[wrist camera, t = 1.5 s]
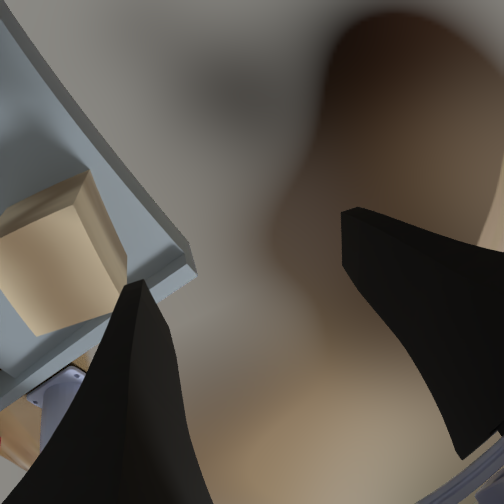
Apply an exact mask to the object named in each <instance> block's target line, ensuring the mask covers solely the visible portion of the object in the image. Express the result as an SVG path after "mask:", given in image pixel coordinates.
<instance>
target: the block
mask: <svg viewBox="0 0 504 504" xmlns="http://www.w3.org/2000/svg"><path fill="white" fill-rule="evenodd" d="M124 285H127V254H126V252H125V250H124V248H123V246H122V243H121V241H120V239H119V237H118V235H117V233H116V230H115V228H114V226H113V224H112V221H111V219H110V217H109V215H108V212H107V210H106V208H105V205H104V203H103V201H102V198H101V196H100V193H99V191H98V189H97V186H96V184H95V181H94V179H93V176H92V174H91V171H90V169H89V170H87V171H85V172H82V173H80V174H77V175H75V176H73V177H71V178H68V179H66V180H64V181H61V182H59V183H57V184H55V185H53V186H51V187H48V188H46V189H44V190H42V191H40V192H38V193H36V194H34V195H32V196H30V197H28V198H26V199H24V200H22V201H20V202H18V203H16V204H14V205H12V206H10V207H8V208H6V210H5V211H4V212H3V214H2V215H1V216H0V289H1V291H2V292H3V294H4V295H5V296H6V298H7V299H8V301H9V302H10V303H11V305H12V306H13V308H14V309H15V310H16V312H17V313H18V314H19V316H20V317H21V318H22V319H23V321H24V322H25V323H26V325H27V326H28V327H29V328H30V330H31V331H32V332H33V333H34V335H35V336H36V337H37V336H40V335H44V334H47V333H50V332H53V331H56V330H59V329H62V328H65V327H68V326H71V325H74V324H77V323H80V322H84V321H87V320H90V319H93V318H96V317H99V316H102V315H105V314H108V313H111V312H113V310H114V307H115V305H116V303H117V300H118V298H119V295H120V293H121V291H122V289H123V287H124Z"/></svg>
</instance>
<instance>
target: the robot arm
mask: <svg viewBox="0 0 504 504" xmlns="http://www.w3.org/2000/svg"><path fill="white" fill-rule="evenodd" d="M341 229H342V230H341V232H342V266H343V267H344V269H345V271H346V272H347V274H348V275H349V277H350V279H351V280H352V282H353V283H354V285H355V286H356V288H357V289H358V291H359V292H360V293H361V294H362V296H363V297H364V298H365V299H366V300H367V302H368V303H369V304H370V305H371V306H372V308H373V309H374V310H375V311H376V313H377V314H378V315H379V316H380V317H381V318H382V320H383V321H384V322H385V323H386V325H387V326H388V327H389V328H390V329H391V330H392V332H393V333H394V334H395V335H396V337H397V338H398V339H399V340H400V342H401V343H402V345H403V346H404V347H405V349H406V350H407V352H408V354H409V355H410V357H411V358H412V360H413V362H414V363H415V365H416V366H417V368H418V370H419V372H420V373H421V375H422V377H423V379H424V381H425V383H426V384H427V386H428V388H429V390H430V392H431V393H432V396H433V397H434V400H435V402H436V404H437V406H438V408H439V410H440V412H441V415H442V417H443V419H444V422H445V424H446V427H447V429H448V432H449V434H450V437H451V439H452V442H453V445H454V448H455V451H456V452H457V454H458V455H459V457H460V458H461V460H463V459H465V458H466V457H467V456H469V455H470V454H471V453H472V452H474V451H475V450H476V449H477V448H478V447H480V446H481V445H482V444H483V443H484V442H486V441H487V440H488V439H489V438H490V437H491V436H492V435H494V434H495V433H496V432H497V431H498V432H499V433H500V435H501V436H502V437H501V438H500V439H499V440H498V441H497V442H496V443H495V444H494V445H493V446H492V447H491V448H489V449H488V450H487V451H486V452H485V453H483V454H482V455H481V456H480V457H479V458H478V459H477V460H475V461H474V462H473V463H471V464H470V465H469V466H468V467H466V468H465V469H464V470H463V471H461V472H460V473H459V474H457V475H456V476H455V477H453V478H452V479H451V480H449V481H448V482H446V483H445V484H444V485H442V486H441V487H439V488H438V489H436V490H435V491H434V492H432V493H431V494H429V495H427V496H426V497H424V498H423V499H421V500H420V501H418V502H416V503H415V504H458V503H459V502H460V501H462V500H463V499H464V498H466V497H467V496H468V495H469V494H470V493H472V492H473V491H474V490H476V489H477V488H478V487H479V486H480V485H482V484H483V483H484V482H485V481H486V480H487V479H489V478H490V477H491V476H492V475H493V474H494V473H495V472H496V471H498V470H499V469H500V468H501V467H502V466H503V465H504V252H499V251H495V250H490V249H486V248H482V247H479V246H475V245H471V244H467V243H464V242H460V241H457V240H454V239H451V238H448V237H445V236H442V235H439V234H436V233H433V232H430V231H427V230H425V229H422V228H419V227H416V226H414V225H411V224H408V223H405V222H403V221H400V220H397V219H394V218H391V217H389V216H386V215H383V214H380V213H377V212H374V211H371V210H368V209H365V208H360V207H356V208H352V209H349V210H346V211H343V212H341ZM27 400H28V401H29V402H31V403H33V404H35V405H36V406H38V407H40V408H42V417H41V433H40V455H39V456H38V458H37V459H36V460H35V462H34V463H33V465H32V466H31V467H30V469H29V470H28V472H27V473H26V474H25V476H24V477H23V478H22V480H21V481H20V482H19V483H18V484H17V486H16V487H15V488H14V489H13V490H12V492H11V493H10V494H9V495H8V497H7V498H6V499H5V500H4V501H3V503H2V504H213V502H212V499H211V497H210V494H209V492H208V489H207V487H206V484H205V481H204V479H203V476H202V473H201V470H200V467H199V464H198V461H197V458H196V455H195V452H194V449H193V446H192V442H191V439H190V435H189V431H188V427H187V422H186V416H185V410H184V404H183V398H182V391H181V385H180V378H179V371H178V364H177V357H176V354H175V349H174V345H173V342H172V337H171V334H170V329H169V326H168V325H167V323H166V321H165V319H164V317H163V316H162V313H161V312H160V310H159V308H158V306H157V304H156V302H155V300H154V298H153V296H152V294H151V292H150V290H149V288H148V286H147V284H146V282H145V280H144V279H141V280H138V281H135V282H132V283H129V284H127V285H124V287H123V289H122V291H121V293H120V295H119V298H118V300H117V303H116V305H115V307H114V310H113V312H112V315H111V317H110V320H109V322H108V325H107V327H106V329H105V332H104V334H103V337H102V339H101V342H100V344H99V346H98V349H97V351H96V353H95V355H94V357H93V360H92V362H91V364H90V366H89V369H88V371H87V373H84V372H82V371H81V370H79V369H78V368H76V367H74V366H69V367H67V368H65V369H64V370H62V371H61V372H60V373H58V374H57V375H55V376H54V377H52V378H51V379H49V380H48V381H46V382H45V383H43V384H42V385H41V386H39V387H38V388H36V389H35V390H33V391H32V392H30V393H29V394H27ZM475 498H476V499H477V501H476V502H475V503H474V504H504V468H503V469H501V470H500V471H499V472H497V473H496V474H495V475H494V476H493V477H491V478H490V479H489V480H488V481H487V482H486V483H485V484H484V485H483V486H482V487H481V489H480V490H479V491H478V492H477V493H476V494H475Z"/></svg>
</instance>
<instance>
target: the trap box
mask: <svg viewBox="0 0 504 504" xmlns="http://www.w3.org/2000/svg"><path fill="white" fill-rule="evenodd" d="M89 169H90V171H91V174H92V176H93V179H94V181H95V184H96V186H97V189H98V191H99V193H100V196H101V198H102V201H103V203H104V205H105V208H106V210H107V212H108V215H109V217H110V219H111V221H112V224H113V226H114V228H115V230H116V233H117V235H118V237H119V239H120V241H121V243H122V246H123V248H124V250H125V252H126V254H127V284H129V283H132V282H135V281H138V280H141V279H144V280H145V282H146V284H147V286H148V288H149V290H150V292H151V294H152V296H153V298H154V300H155V302H156V304H157V303H159V302H160V301H162V300H163V299H164V298H166V297H167V296H169V295H170V294H172V293H173V292H175V291H176V290H178V289H179V288H181V287H182V286H184V285H185V284H187V283H188V282H190V281H191V280H193V279H194V278H196V277H197V276H198V274H197V270H196V267H195V263H194V260H193V256H192V253H191V249H190V245H189V242H188V241H187V240H186V238H185V237H184V236H183V235H182V234H181V232H180V231H179V230H178V229H177V228H176V227H175V225H174V224H173V223H172V222H171V221H170V219H169V218H168V217H167V216H166V215H165V213H164V212H163V211H162V210H161V209H160V208H159V206H158V205H157V204H156V203H155V201H154V200H153V199H152V198H151V197H150V195H149V194H148V193H147V192H146V190H145V189H144V188H143V187H142V186H141V185H140V183H139V182H138V181H137V180H136V178H135V177H134V176H133V174H132V173H131V172H130V171H129V170H128V168H127V167H126V166H125V165H124V163H123V162H122V161H121V160H120V158H119V157H118V156H117V155H116V153H115V152H114V151H113V149H112V148H111V147H110V146H109V144H108V143H107V142H106V141H105V139H104V138H103V137H102V135H101V134H100V133H99V132H98V130H97V129H96V128H95V126H93V124H92V123H91V121H90V120H89V119H88V117H87V116H86V115H85V114H84V112H83V111H82V109H81V108H80V107H79V106H78V104H77V103H76V102H75V100H74V99H73V98H72V96H71V95H70V94H69V92H68V91H67V90H66V88H65V87H64V86H63V84H62V83H61V82H60V80H59V79H58V77H57V76H56V75H55V73H54V72H53V71H52V69H51V68H50V67H49V65H48V64H47V63H46V61H45V60H44V58H43V57H42V56H41V54H40V53H39V51H38V50H37V48H36V47H35V46H34V44H33V43H32V41H31V40H30V39H29V37H28V36H27V34H26V33H25V31H24V30H23V28H22V27H21V26H20V24H19V23H18V21H17V20H16V18H15V17H14V15H13V14H12V12H11V11H10V9H9V8H8V6H7V5H6V3H5V2H4V0H0V216H1V215H2V214H3V212H4V211H5V210H6V208H8V207H10V206H12V205H14V204H16V203H18V202H20V201H22V200H24V199H26V198H28V197H30V196H32V195H34V194H36V193H38V192H40V191H42V190H44V189H46V188H48V187H51V186H53V185H55V184H57V183H59V182H61V181H64V180H66V179H68V178H71V177H73V176H75V175H77V174H80V173H82V172H85V171H87V170H89ZM111 315H112V312H111V313H108V314H105V315H102V316H99V317H96V318H93V319H90V320H87V321H84V322H80V323H77V324H74V325H71V326H68V327H65V328H62V329H59V330H56V331H53V332H50V333H47V334H44V335H40V336H37V337H36V336H35V335H34V333H33V332H32V331H31V330H30V328H29V327H28V326H27V325H26V323H25V322H24V321H23V319H22V318H21V317H20V316H19V314H18V313H17V312H16V310H15V309H14V308H13V306H12V305H11V303H10V302H9V301H8V299H7V298H6V296H5V295H4V294H3V292H2V291H1V289H0V369H2V370H1V371H0V411H2V410H3V409H4V408H6V407H7V406H9V405H10V404H11V403H13V402H14V401H16V400H17V399H19V398H20V397H22V396H23V395H24V394H26V393H27V392H29V391H30V390H32V389H33V388H34V387H36V386H37V385H39V384H40V383H42V382H43V381H45V380H46V379H47V378H49V377H50V376H52V375H53V374H55V373H56V372H58V371H59V370H60V369H62V368H63V367H65V366H66V365H68V364H69V363H71V362H72V361H73V360H75V359H76V358H78V357H79V356H81V355H82V354H84V353H85V352H87V351H88V350H89V349H91V348H92V347H94V346H95V345H97V344H98V343H100V342H101V339H102V337H103V334H104V332H105V329H106V327H107V325H108V322H109V320H110V317H111Z"/></svg>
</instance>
